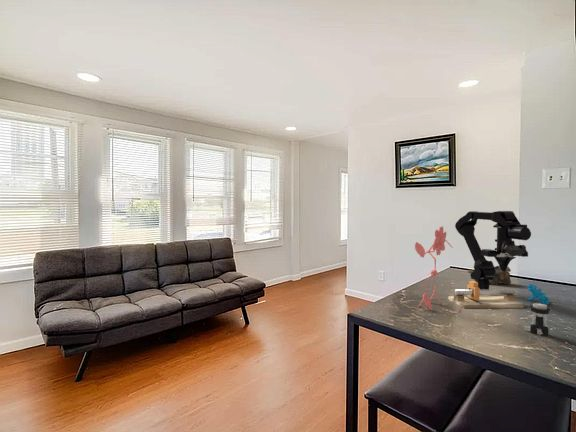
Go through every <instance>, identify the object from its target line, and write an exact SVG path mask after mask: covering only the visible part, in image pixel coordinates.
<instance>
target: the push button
mask: <svg viewBox="0 0 576 432" xmlns="http://www.w3.org/2000/svg"><path fill="white" fill-rule="evenodd" d="M529 308H530V311H531V312H532V322H531V323H530V325H529V326H526V325H524V330H525V331H530V333H532V334H537V335H539V336H545V337H549V327H548V324H547V315H549V314H550V312H551V308H550V307H548V304H547V305H546V304H542V303H541V302H533V304H531V305H529Z"/></svg>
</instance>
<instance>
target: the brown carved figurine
mask: <svg viewBox="0 0 576 432" xmlns="http://www.w3.org/2000/svg"><path fill="white" fill-rule="evenodd" d="M494 267H495V268H496V269H495V271H496V273H495V275H494V278H493V280H489V285H490V284H491V285H496V286H497V285H498V284H500V283H501V284H504V285H509V284H511V283H512V280H511V276H510V275H511V273H510V272H511V271H512V270H511V268H510V267H509V266H508V267H507V269H506V271H502V270H501V268H500V266H499V265H496V266H494ZM474 271H475V270H471V269H468V270H467V273H468V274H471V273H472V272H474Z"/></svg>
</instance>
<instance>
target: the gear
mask: <svg viewBox="0 0 576 432" xmlns="http://www.w3.org/2000/svg"><path fill="white" fill-rule="evenodd" d="M527 290H528V291H529V292H531V293H530V295H531V297H529V298H527V300H528V301H529V302H530V301H532V300H537V301H539V303H541V304H545V305H547V306H548V305H549V303H550V298H549V297H547V292H546V291H543V292H542V289H541V288H540V287H539V288H538V287H537V286H536V285H533V284H531V283H530V284H529V285H528V286H527Z"/></svg>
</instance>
